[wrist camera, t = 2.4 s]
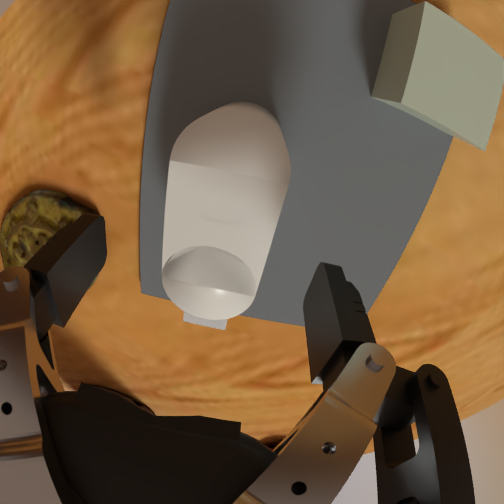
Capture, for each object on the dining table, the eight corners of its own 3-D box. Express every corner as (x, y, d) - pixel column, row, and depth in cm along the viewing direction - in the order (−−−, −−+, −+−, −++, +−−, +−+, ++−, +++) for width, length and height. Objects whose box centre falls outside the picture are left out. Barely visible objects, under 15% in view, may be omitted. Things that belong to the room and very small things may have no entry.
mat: (190, -49, 8) (187, -53, 7) (471, 43, 9) (476, 43, 8) (144, 287, 20) (141, 293, 19) (352, 327, 21) (354, 333, 20)
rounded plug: (209, 95, 12) (178, 101, 8) (292, 111, 12) (305, 126, 8) (183, 281, 18) (161, 340, 14) (243, 294, 19) (236, 356, 14)
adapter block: (392, 14, 9) (425, 0, 6) (467, 58, 9) (507, 62, 6) (370, 96, 11) (400, 103, 8) (446, 133, 12) (484, 151, 9)
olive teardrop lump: (73, 147, 15) (-3, 235, 19) (24, 163, 11) (-34, 258, 15) (139, 261, 19) (45, 310, 23) (107, 302, 15) (20, 339, 19)
